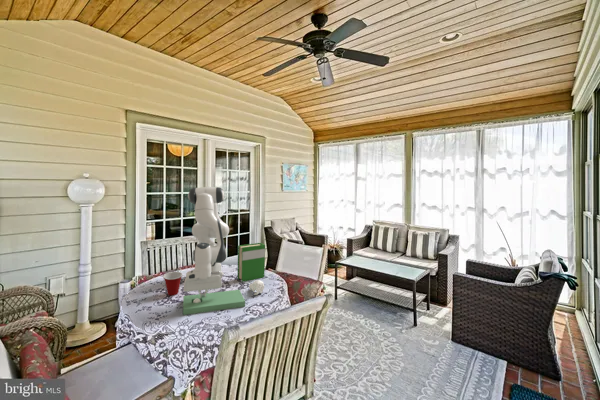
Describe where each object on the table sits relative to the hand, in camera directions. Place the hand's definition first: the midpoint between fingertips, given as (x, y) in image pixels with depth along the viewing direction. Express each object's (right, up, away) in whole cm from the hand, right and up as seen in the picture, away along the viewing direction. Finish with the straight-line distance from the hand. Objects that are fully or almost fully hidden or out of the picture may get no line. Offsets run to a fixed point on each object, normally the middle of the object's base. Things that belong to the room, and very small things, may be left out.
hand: (202, 297), depth 161 cm
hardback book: (+19, -2, +47) cm, 50 cm away
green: (+5, -5, +3) cm, 7 cm away
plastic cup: (-23, -3, +15) cm, 28 cm away
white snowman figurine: (+26, -4, +21) cm, 34 cm away
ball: (-3, -2, -1) cm, 4 cm away
